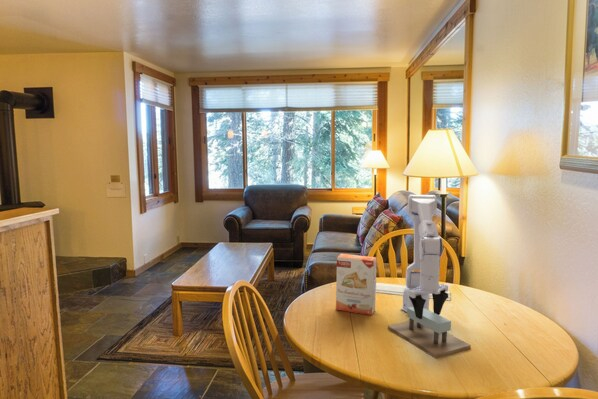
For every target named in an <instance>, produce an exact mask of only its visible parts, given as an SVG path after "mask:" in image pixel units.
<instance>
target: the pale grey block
mask: <svg viewBox="0 0 598 399" xmlns="http://www.w3.org/2000/svg"><path fill="white" fill-rule="evenodd" d="M406 317H407V318H408V319H409V318H411V319H412V320H414V321H416V322H418V323H420V324H422V325H424V326H425V327H427V328H429V329H431V330H433V331H435V332H437V333H438V334H439V333H442V332H446V331H447V332H449V331H451V330H452V328H451V327H452V320H450V319H447V318H446V317H443V316H442V315H441V314H440V315H438V314H436V313H434V311H431V310H430V309H429V310H427V309H425V308H423V316H422V319H419V318H417V317H416V315H415V311H414V307H409V308H407V312H406Z"/></svg>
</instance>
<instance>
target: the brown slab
mask: <svg viewBox="0 0 598 399" xmlns="http://www.w3.org/2000/svg"><path fill="white" fill-rule="evenodd" d="M408 319H409V320H406V321H402V322H399V323H394V324H390V325H387V329H388V330H390V331H391V332H393V333H394V334H396V335H398V336H400V337H401V338H403V339H404V340H406V341H407V342H409V343H410V344H412V345H414V346H416V347H417V348H419V349H420V350H422V351H423V352H425V353H427V354H428V355H430V356H432V357H433V358H435V359H438V358H441V357H442V358H443V357H445V356H449V355H453V354H456V353H458V352H462V351H466V350H468V349H469V350H470V349H471V346H472V345H471V344H469V343H468V342H466V341H464V340H462V339H460V338H458V337H456V336H454V335H452V334H450V333H449V332H448V331H446V332H442V333H439V334H438V333H437V332H435V331H433V330H431V329H429V328H427V327H425V326H424V325H422V324H420V323H418V322H416V321H414V320H412V319H411V318H409V317H408Z"/></svg>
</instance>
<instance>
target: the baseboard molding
mask: <svg viewBox="0 0 598 399" xmlns="http://www.w3.org/2000/svg"><path fill="white" fill-rule="evenodd" d="M405 288H406V285H401V284H394V283H393V284H391V283H382V282H377V280H376V294H377V293H378V294H386V295H393V296H394V295H395V296H402V297H403V292H404V289H405ZM446 293H448V298H447V299H446V301H448V302H449V301H450V302H451V292H450V290H449V289H448V291H447V292H446ZM430 299H431V300H433V296H432V294H429V300H430ZM446 301H445V302H446Z"/></svg>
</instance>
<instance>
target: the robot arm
mask: <svg viewBox="0 0 598 399" xmlns="http://www.w3.org/2000/svg"><path fill="white" fill-rule="evenodd" d="M437 199H438V198H437V196H436V195H435V194H409V195H408V196H407V216H408V217H409V218H411V219H412V221H413V262H412V263H411V264H409V265H408V266H407V267H406V270H405V286H406V288H405V289H404V292H403V296H402V307H400V310H402V311H404V312H406V313H407V308H409V307H414V311H415V315H416V317H417V318H419V319H422V316H423V308H425V309H427V310H429V311H430V299H429V294H432V296H433V299H432V304H433V305H432V306H433V307H432V309H433V311H432V312H433V313H436V314H438V315H440V316H441V312H442V310H443V306H444V304H445V303H446V299H447V298H448V293H446V292H447V291H448V290H449V285H447V284H445V283H444V284H443V283H441V284H440V265H441V264H440V262H441V257H442V254H443V251H444V249H443V248H444V246H443V245H444V244H443V239H442V237H441V235H439V233H438V227H437V224H436V222H435V221H433V218H434V215H435V213H436V211H437V207H438V200H437Z"/></svg>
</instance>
